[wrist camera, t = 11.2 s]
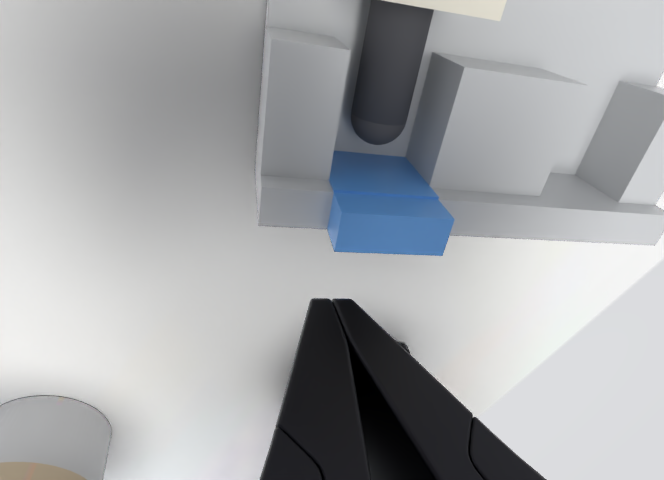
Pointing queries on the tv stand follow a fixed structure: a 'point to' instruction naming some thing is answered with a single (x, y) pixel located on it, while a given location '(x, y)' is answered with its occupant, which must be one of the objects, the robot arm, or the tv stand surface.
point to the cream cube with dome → (399, 60)
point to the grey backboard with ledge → (469, 128)
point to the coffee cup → (52, 440)
